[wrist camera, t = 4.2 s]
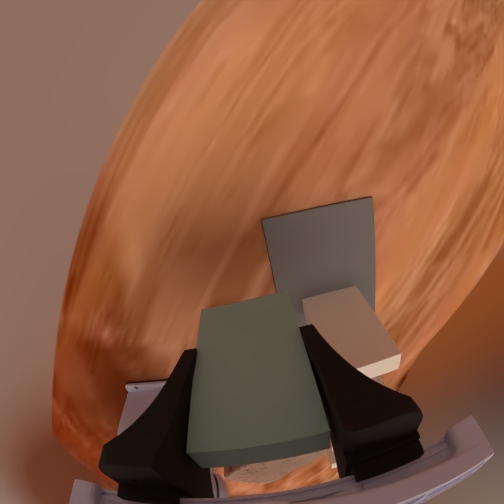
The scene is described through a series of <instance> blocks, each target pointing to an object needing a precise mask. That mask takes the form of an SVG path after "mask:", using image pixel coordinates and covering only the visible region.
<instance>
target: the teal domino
mask: <svg viewBox="0 0 504 504" xmlns="http://www.w3.org/2000/svg"><path fill="white" fill-rule="evenodd" d="M196 349H197V359H196V367H195V371H194V376H193V383H192V393H191V403H190V414H189V425H188V436H187V449H186V453H187V454H188V455H189V456H190V457H191V458H192V459H193V460H194V461H195V462H196V463H197V464H198V465H199V466H200V467H201V468H214V467H227V466H238V465H247V464H254V463H262V462H268V461H274V460H280V459H285V458H291V457H296V456H300V455H305V454H309V453H313V452H318V451H322V450H325V449H329V448H331V444H330V429H329V425H328V422H327V418H326V415H325V412H324V408H323V405H322V401H321V398H320V395H319V391H318V388H317V385H316V381H315V378H314V375H313V371H312V368H311V365H310V361H309V358H308V355H307V352H306V348H305V345H304V342H303V339H302V336H301V333H300V329H299V326H298V323H297V320H296V316H295V313H294V310H293V307H292V304H291V301H290V298H289V295H288V291H284V292H280V293H275V294H271V295H267V296H263V297H258V298H254V299H249V300H245V301H240V302H236V303H231V304H226V305H222V306H217V307H212V308H207V309H202V310H201V317H200V324H199V332H198V340H197V348H196Z"/></svg>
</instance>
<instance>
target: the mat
mask: <svg viewBox="0 0 504 504" xmlns="http://www.w3.org/2000/svg"><path fill="white" fill-rule="evenodd" d="M261 220H262V224H263V229H264V234H265V238H266V243H267V248H268V253H269V257H270V262H271V267H272V272H273V276H274V281H275V286H276V291H277V293H280V292H284V291H288V295H289V298H290V301H291V304H292V307H293V310H294V313H295V316H296V320H297V323H298V326H299V327H302V326H306V325H308V323H307V320H306V317H305V315H304V310H303V303H302V299H304V298H309V297H313V296H317V295H321V294H325V293H329V292H332V291H336V290H340V289H344V288H348V287H351V286H355V285H356V287H357V288H358V289H359V291H360V292H361V294H362V295H363V297H364V298H365V299H366V301H367V302H368V304H369V305H370V307H371V308H372V310H373V311H374V312H375V232H374V213H373V199H372V197H366V198H360V199H355V200H350V201H345V202H340V203H335V204H330V205H325V206H321V207H316V208H311V209H306V210H302V211H297V212H292V213H288V214H283V215H278V216H274V217H269V218H265V219H261Z"/></svg>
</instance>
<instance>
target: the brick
mask: <svg viewBox="0 0 504 504" xmlns="http://www.w3.org/2000/svg"><path fill="white" fill-rule="evenodd" d="M326 453H327V449H325V450H322V451H318V452H313V453H309V454H305V455H300V456H296V457H291V458H285V459H280V460H274V461H268V462H262V463H254V464H247V465H238V466H227V467H225V468H224V477H225V478H227V479H229V480H233V481H238V482H248V483H252V482H253V483H265V484H268V483H271V482H274V481H276V480H278V479H280V478H282V477H283V476H285V475H286V474H288V473H289V472H290V471H293V470H295V469H297V468H300V467H302V466H304V465H305V464H308V463H310V462H312V461H314V460H316V459H318V458H319V457H320V456H321V455H324V454H326Z"/></svg>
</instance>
